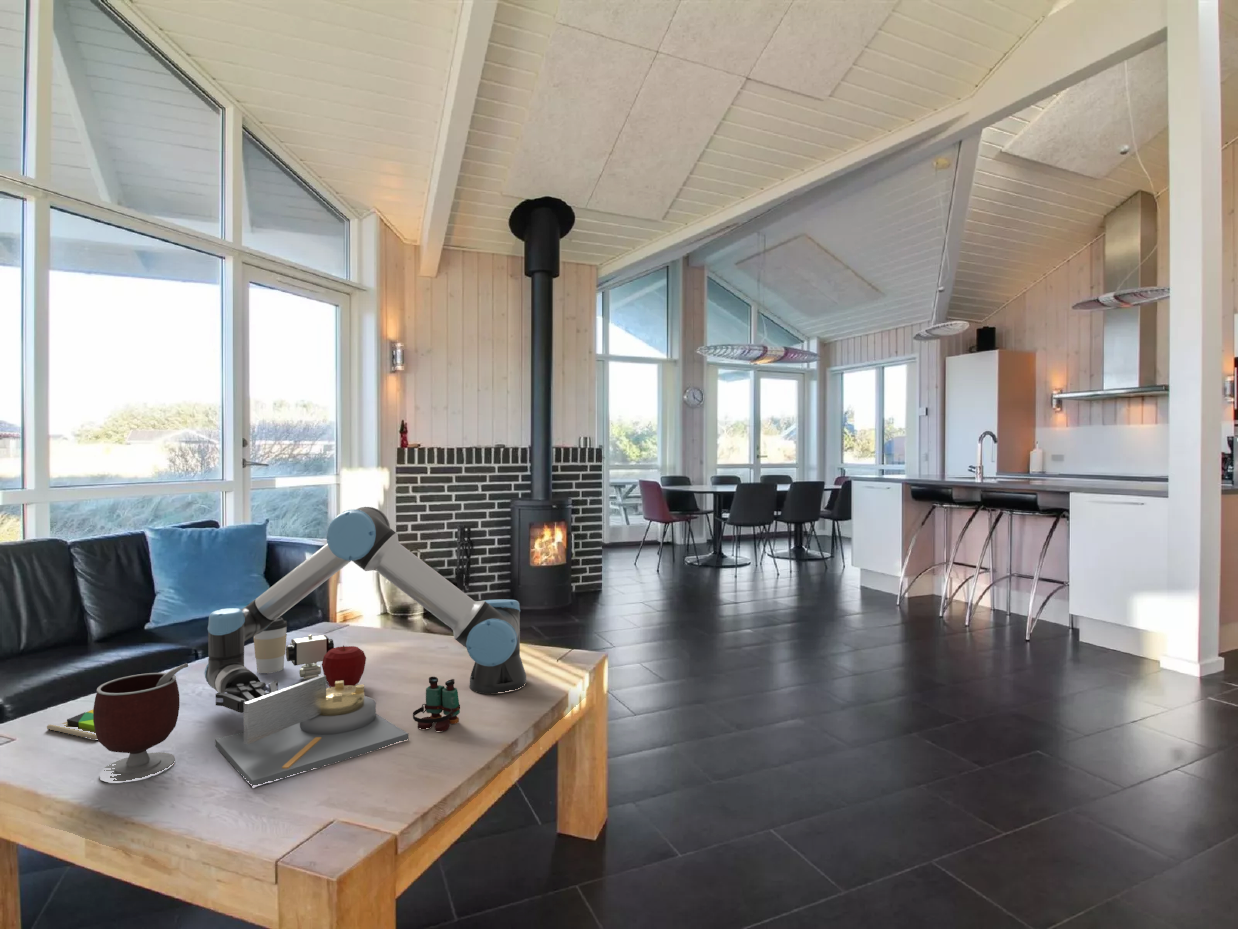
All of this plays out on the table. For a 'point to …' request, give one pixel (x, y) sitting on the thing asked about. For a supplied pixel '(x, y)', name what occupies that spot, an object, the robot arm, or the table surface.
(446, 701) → the binoculars
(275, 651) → the coffee cup
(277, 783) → the table surface
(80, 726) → the wooden puzzle
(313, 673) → the pneumatic valve
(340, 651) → the apple
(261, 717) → the two-tone lugged fixture
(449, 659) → the table surface
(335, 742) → the grey flat slab
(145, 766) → the mate gourd
